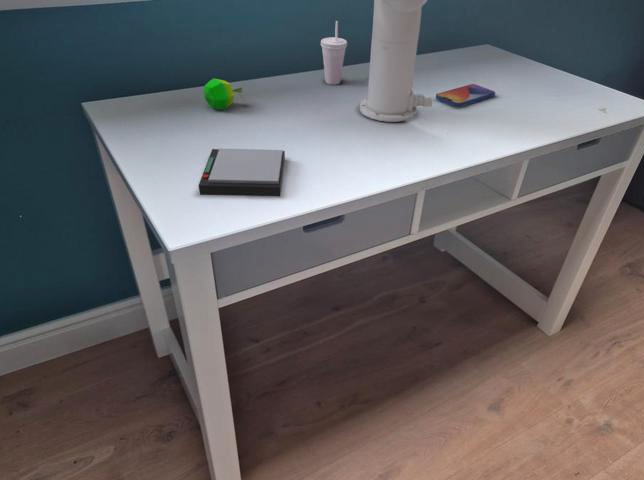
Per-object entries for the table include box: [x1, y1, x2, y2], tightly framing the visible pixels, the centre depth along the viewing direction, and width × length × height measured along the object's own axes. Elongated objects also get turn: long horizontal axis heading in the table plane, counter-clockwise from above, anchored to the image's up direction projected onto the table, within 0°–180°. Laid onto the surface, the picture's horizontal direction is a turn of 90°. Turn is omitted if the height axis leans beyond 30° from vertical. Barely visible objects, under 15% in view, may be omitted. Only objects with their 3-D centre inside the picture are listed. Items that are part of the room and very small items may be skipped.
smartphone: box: [435, 83, 496, 108], centre depth 120 cm, size 7×15×1 cm, turn 131°
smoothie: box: [319, 20, 348, 85], centre depth 120 cm, size 6×6×14 cm
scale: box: [198, 147, 286, 198], centre depth 86 cm, size 13×13×2 cm
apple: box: [203, 77, 246, 111], centre depth 108 cm, size 7×6×9 cm
